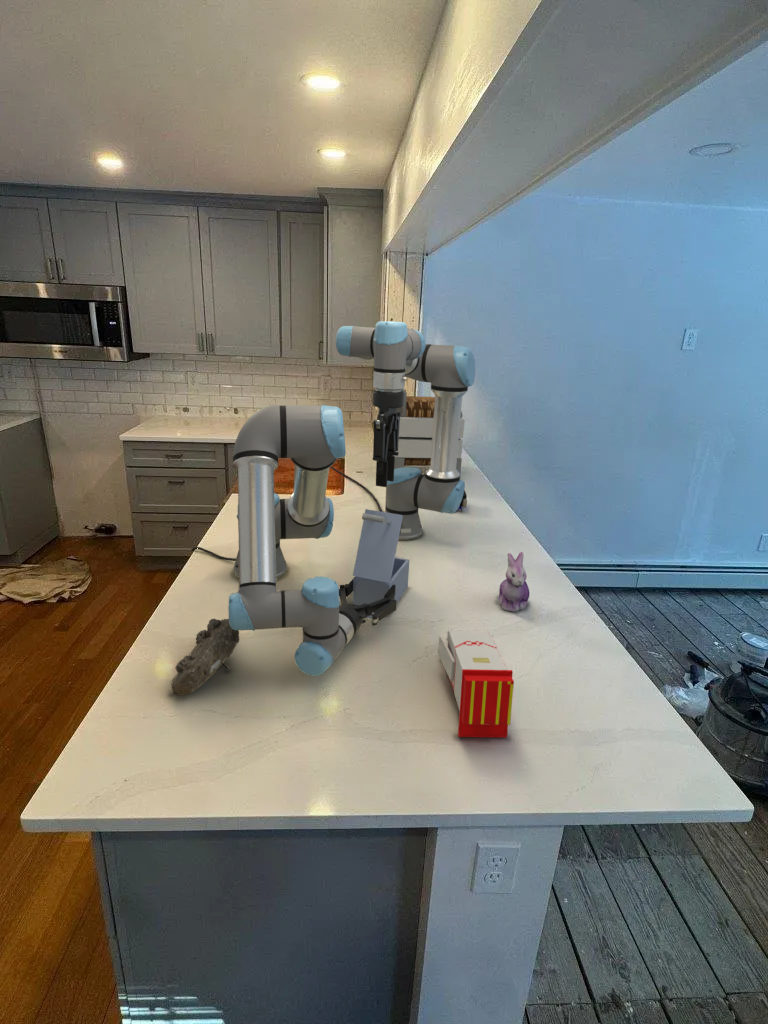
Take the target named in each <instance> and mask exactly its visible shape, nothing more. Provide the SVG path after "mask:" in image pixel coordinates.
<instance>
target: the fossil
mask: <svg viewBox="0 0 768 1024" xmlns="http://www.w3.org/2000/svg"><path fill="white" fill-rule="evenodd" d="M206 626H207V627H206V629H203V630H200V631H199V632H197V634H196V637H195V644H196V645H195V646H194V648H193V650H192V651H191V653H190V655H185V656H184V657H183V658H181V659H180V660H179V661H178V662H177V664H176V666H175V670H176V672H177V675H176V676H175V677H174V678H173V679H172V680H171V682H172V683H171V690H172V691H171V692H172V693H174V694H177V695H179V696H184V695H186V694H193V693H194V692H195V691H197V690H198V688H200V687H201V686H203V685H204V684H205V683H206V682H207V681H208V680H209V679H210V678H211V677H212V676H213V675H215V674H216V672H217V670H218V669H219V668H220V667H221V666H223V668H224V669H225V670H227V671H228V670H229V669H230V668H229V666H227V664H225V660H226V659H227V658H230V656H231V655H232V654H233V652H234V649H235V647H236V646H237V644H238V643H239V642H240V630H234V629H232V628H231V627H230V624H229V618H223V619H221V620H220V619H216V618H211V619H209V620H208V623H207V625H206Z"/></svg>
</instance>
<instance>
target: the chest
mask: <svg viewBox="0 0 768 1024" xmlns="http://www.w3.org/2000/svg"><path fill="white" fill-rule="evenodd" d="M409 575H410V559H408V558H403V557H398V556H395V560H394V565H393V570H392V575H391V581H390V583H385V582H380V581H376V580H371V579H366V578H361V577H356V576H353V578H352V579H353V592H352V604H354V605H362V604H365V603H367V604H370V603H373V602H375V601H378V600H381V599H384V595H385V594H386V593H387V591H388V590H389V589H390V588H391V587H392V585H396V588H395V600H396V601H397V603H399V601H400V599H401V598H402V596H403V595H404V594H405V592H406V591H407V590H408V588H409Z"/></svg>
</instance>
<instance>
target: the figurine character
mask: <svg viewBox="0 0 768 1024" xmlns="http://www.w3.org/2000/svg"><path fill="white" fill-rule="evenodd" d="M467 495H468V494H467V493H466V490H465V489H464V494H463V497H462V500H461V503H460V505H459V507H458V509H459V510H460V512H463V509H464V508H465V509H466V508H467V506H468V499H467V497H468V496H467ZM458 509H457V510H458Z"/></svg>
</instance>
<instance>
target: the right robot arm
mask: <svg viewBox="0 0 768 1024" xmlns="http://www.w3.org/2000/svg"><path fill="white" fill-rule="evenodd" d="M335 348H336V351H337V353H338V354H339V355H340V356H342V357H344V356H345V357H348V358H352V357H353V358H359V359H362V360H365V361H368V362H371V363H373V371H372V388H373V389H374V390H372V402H371V403H372V405H373V407H375V408H378V414H377V417H376V419H373V421H372V426H373V441H372V442H373V443H372V444H373V446H372V447H373V449H372V461H375V462H376V465H375V466H376V467H375V471H376V472H375V486H376V487H381V488H385V504H384V505H385V507H384V508H385V509H384V511H383V509H382V507H381V504H380V503H379V501H378V500H377V499H378V498H376V497H375V495H374V494H373V492H371V491H370V490H369V489H368V488H367V486H364V485H363V484H362V483H360V482H358V481H357V480H356V479H354V478H352V477H350V476H348V475H347V474H346V473H344V472H341V471H340V470H338V469H337V468H335V467H333V465H332V466H331V467H329V469H332V470H333V471H335V472H336V473H338V474H339V475H341V476H343V477H344V478H347V479H348V480H350V481H352V482H353V483H355V484H357V485H358V486H360V487H361V488H363V490H365V491H366V492H367V493H368V494H369V495H370V496H371V497H372V498H373V500H374V502H375V503H376V505H377V508H378V511H380V512H386V513H392V514H398V515H403V517H402V523H401V528H400V533H399V538H398V541H410V540H415V539H418V538H420V537H421V536H422V535H423V525H422V524H421V518H420V515H419V509H420V510H427V511H431V512H438V513H441V514H451V515H452V514H454V513H456V512H457V510H458V507H459V505H460V503H461V500H462V497H463V494H464V490H465V489H466V485H465V484H466V483H465V481H464V480H463V479H461V474H460V473H459V472H458V471H457V469H456V463H457V451H458V440H459V428H460V417H461V412H462V404H463V396H464V395H466V394H467V393H468V391H469V387H472V386H473V385H474V383H475V377H476V360H475V355H474V353H473V350H472V349H471V348H469V347H467V346H461V345H451V344H450V345H449V344H432V343H431V344H430V343H426V339H425V337H424V334H423V333H421V332H420V331H419V330H417V329H414V328H408V325H407V323H405V322H404V321H403V322H402V321H391V320H390V321H389V320H388V321H387V320H386V321H384V320H383V321H382V320H380V321H377V322H376V324H375V326H374V327H371V326H369V327H368V326H355V325H343V326H341V327H340V328H339V329H337V332H336V336H335ZM408 379H411V380H414V381H418V382H423V383H430V390H431V392H432V393H433V394H434V397H435V404H434V419H433V433H432V448H431V462H430V466H429V468H427V469H426V470H425V471H424V474H422V470H421V468H419V467H416V466H406V467H405V466H404V467H403V468H397V469H394V465H395V456H394V455H396V456H398V454H399V452H396V451H398V444H399V424H400V416H401V413H400V412H397V408H401V407H403V405H404V392H403V391H402V389H404V390H405V382H406V381H407V380H408ZM461 418H462V417H461Z"/></svg>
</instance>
